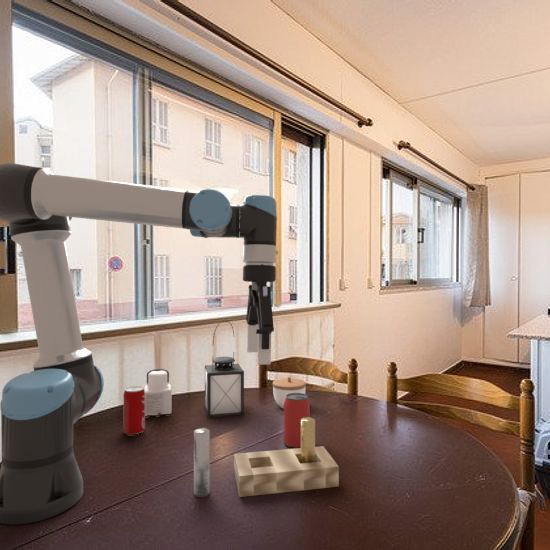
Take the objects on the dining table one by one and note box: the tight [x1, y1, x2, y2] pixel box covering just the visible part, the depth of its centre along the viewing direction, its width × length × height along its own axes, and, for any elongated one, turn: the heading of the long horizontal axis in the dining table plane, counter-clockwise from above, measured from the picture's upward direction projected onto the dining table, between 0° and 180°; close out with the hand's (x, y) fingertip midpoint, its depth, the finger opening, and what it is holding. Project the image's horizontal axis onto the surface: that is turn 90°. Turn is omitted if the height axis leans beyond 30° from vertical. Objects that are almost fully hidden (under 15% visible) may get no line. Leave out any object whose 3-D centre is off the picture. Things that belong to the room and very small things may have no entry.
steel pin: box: [193, 427, 211, 498], centre depth 80 cm, size 3×3×12 cm
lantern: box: [204, 320, 245, 418], centre depth 129 cm, size 11×11×28 cm
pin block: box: [233, 445, 340, 498], centre depth 86 cm, size 20×10×4 cm, turn 101°
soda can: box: [122, 385, 146, 435], centre depth 111 cm, size 6×6×12 cm
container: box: [144, 368, 173, 416], centre depth 127 cm, size 8×8×13 cm
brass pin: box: [301, 417, 316, 464], centre depth 87 cm, size 3×3×12 cm
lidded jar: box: [272, 376, 307, 410], centre depth 133 cm, size 11×11×9 cm
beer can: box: [283, 393, 311, 449], centre depth 104 cm, size 7×7×12 cm
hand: (258, 357), depth 94 cm, fingers open, 13 cm apart
